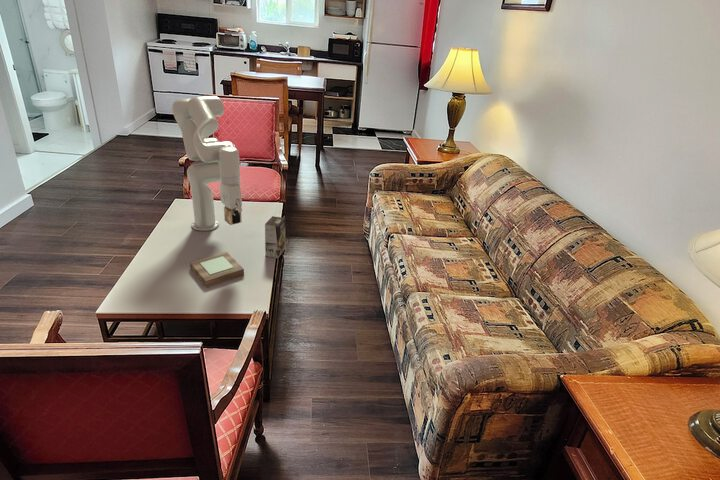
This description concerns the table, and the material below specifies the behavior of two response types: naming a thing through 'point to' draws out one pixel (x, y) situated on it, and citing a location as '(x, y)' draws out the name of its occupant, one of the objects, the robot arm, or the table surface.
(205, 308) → the table surface
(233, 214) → the robot arm
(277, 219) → the coffee box
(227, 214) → the maple block
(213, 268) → the walnut base
